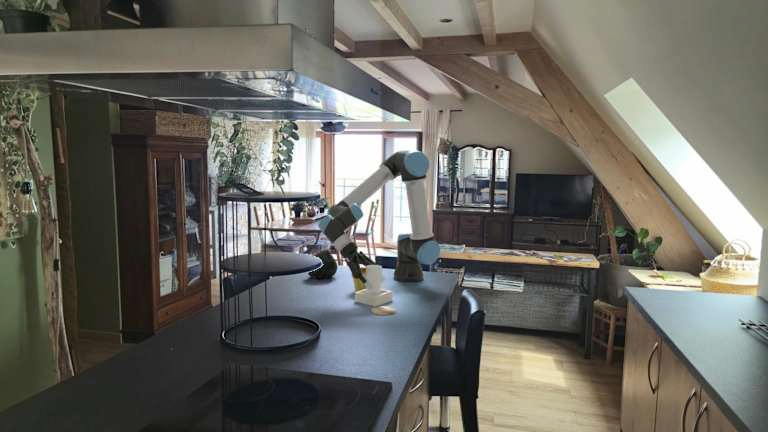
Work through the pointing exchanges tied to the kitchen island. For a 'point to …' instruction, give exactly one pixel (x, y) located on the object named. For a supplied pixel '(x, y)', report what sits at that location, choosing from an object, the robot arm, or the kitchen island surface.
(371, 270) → the white cup
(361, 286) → the plant pot
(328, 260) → the squash
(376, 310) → the wooden coaster
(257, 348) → the kitchen island surface
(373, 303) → the square holder
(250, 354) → the kitchen island surface
